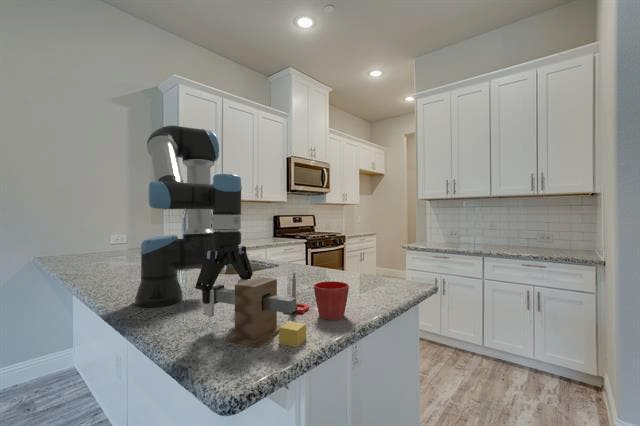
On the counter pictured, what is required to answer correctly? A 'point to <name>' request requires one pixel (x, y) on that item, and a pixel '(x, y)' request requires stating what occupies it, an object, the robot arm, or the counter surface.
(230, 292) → the shaft
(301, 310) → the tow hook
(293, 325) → the block
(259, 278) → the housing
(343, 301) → the flower pot
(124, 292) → the counter surface
